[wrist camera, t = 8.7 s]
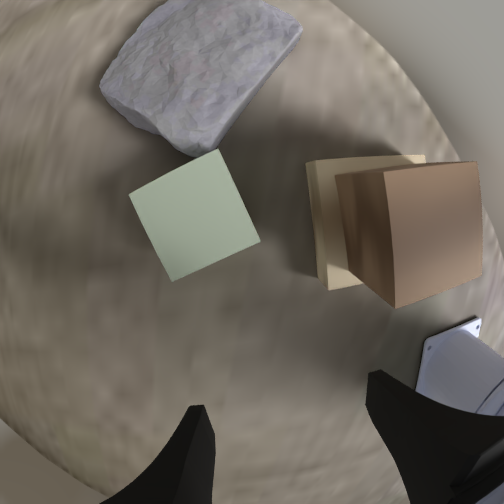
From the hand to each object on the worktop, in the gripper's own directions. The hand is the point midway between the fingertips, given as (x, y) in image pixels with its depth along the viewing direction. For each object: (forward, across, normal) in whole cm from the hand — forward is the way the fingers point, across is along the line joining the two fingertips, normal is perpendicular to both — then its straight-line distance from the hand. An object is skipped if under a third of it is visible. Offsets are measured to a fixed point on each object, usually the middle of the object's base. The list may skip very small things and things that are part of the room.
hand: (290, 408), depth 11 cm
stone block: (+10, +2, -18) cm, 21 cm away
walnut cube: (+7, -8, -6) cm, 13 cm away
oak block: (+10, -8, -6) cm, 14 cm away
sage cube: (+10, +3, -8) cm, 13 cm away
